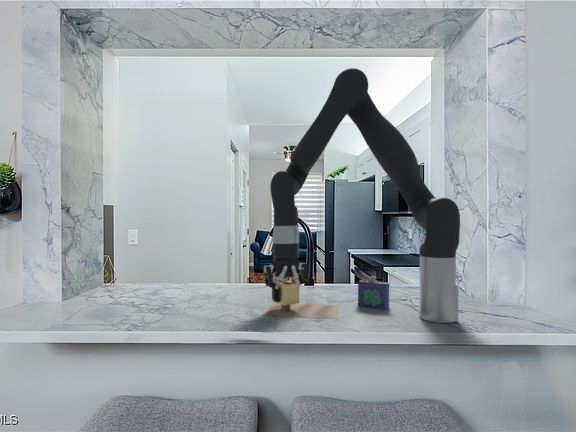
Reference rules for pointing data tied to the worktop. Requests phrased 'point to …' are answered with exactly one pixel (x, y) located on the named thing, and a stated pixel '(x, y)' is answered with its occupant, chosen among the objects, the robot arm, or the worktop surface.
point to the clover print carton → (373, 294)
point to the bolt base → (303, 311)
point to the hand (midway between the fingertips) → (285, 300)
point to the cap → (288, 293)
